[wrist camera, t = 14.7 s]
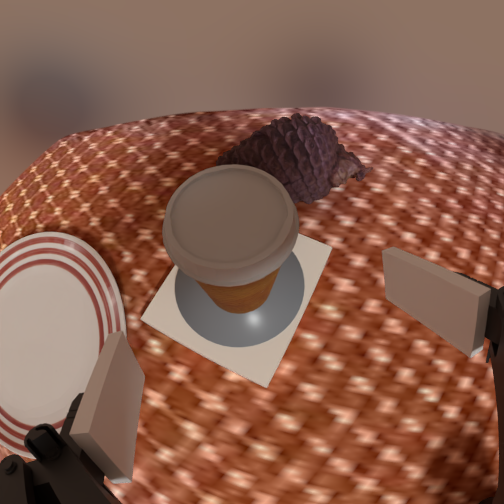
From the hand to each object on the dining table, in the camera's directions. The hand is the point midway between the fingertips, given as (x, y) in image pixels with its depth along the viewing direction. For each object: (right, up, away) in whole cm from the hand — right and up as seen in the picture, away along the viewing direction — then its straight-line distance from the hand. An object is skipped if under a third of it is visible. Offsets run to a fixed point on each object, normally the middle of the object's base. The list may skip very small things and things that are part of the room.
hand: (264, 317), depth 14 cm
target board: (-2, -1, +18) cm, 18 cm away
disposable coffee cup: (-2, 0, +17) cm, 17 cm away
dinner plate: (-26, -8, +15) cm, 31 cm away
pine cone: (+4, +11, +24) cm, 27 cm away
